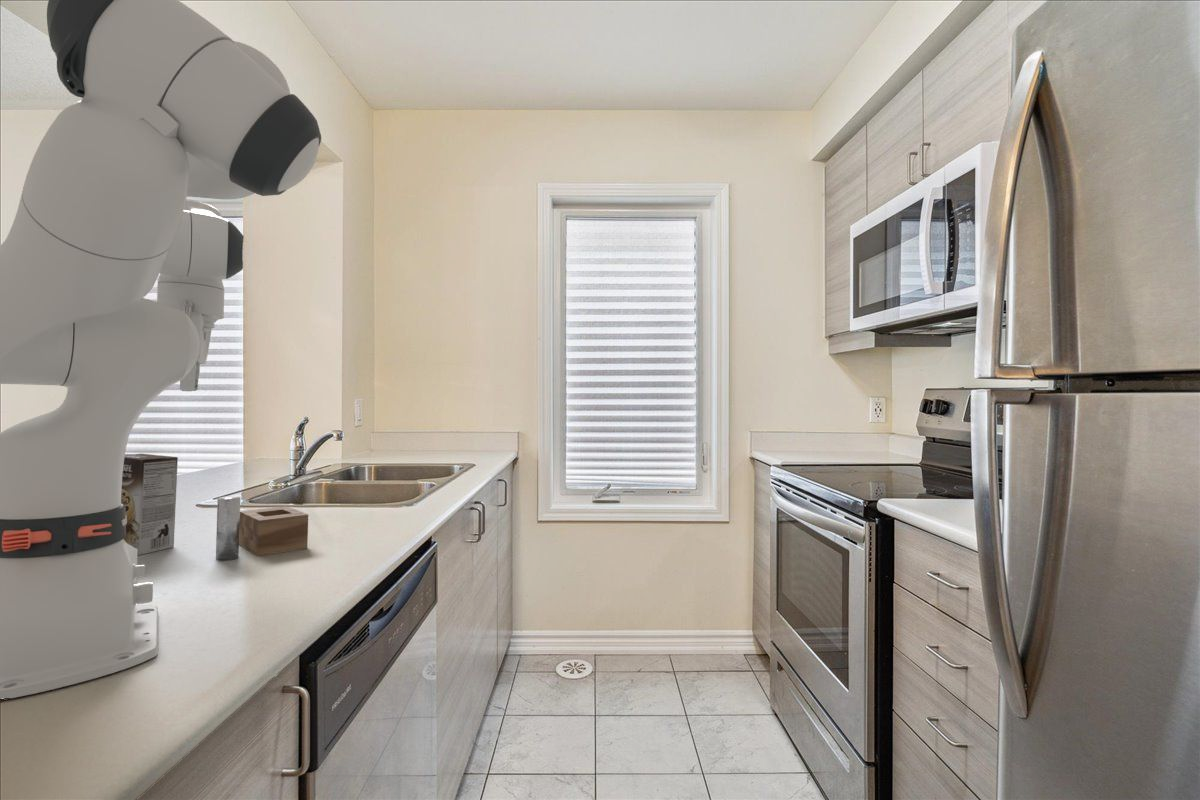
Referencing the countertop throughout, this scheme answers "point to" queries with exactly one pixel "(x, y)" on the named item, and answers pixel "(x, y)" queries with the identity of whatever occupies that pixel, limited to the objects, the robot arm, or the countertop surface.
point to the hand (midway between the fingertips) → (189, 391)
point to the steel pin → (228, 528)
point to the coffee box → (149, 501)
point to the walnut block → (273, 530)
